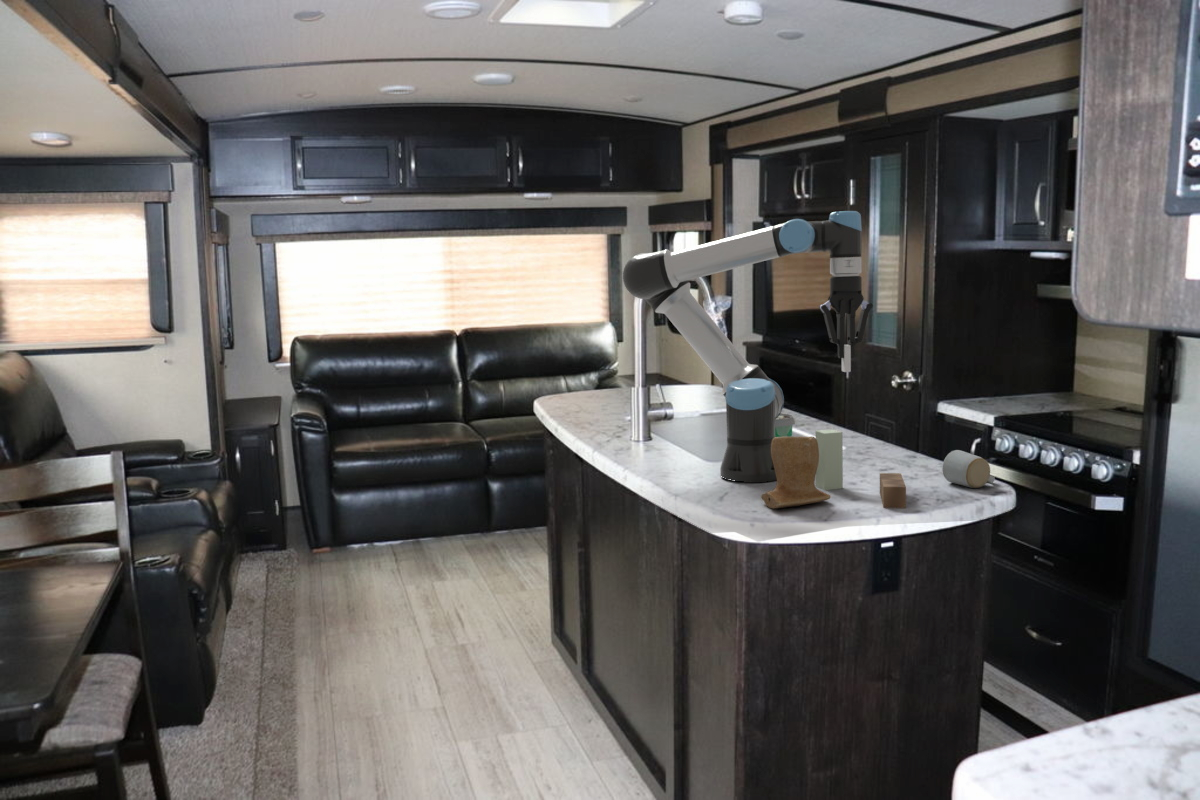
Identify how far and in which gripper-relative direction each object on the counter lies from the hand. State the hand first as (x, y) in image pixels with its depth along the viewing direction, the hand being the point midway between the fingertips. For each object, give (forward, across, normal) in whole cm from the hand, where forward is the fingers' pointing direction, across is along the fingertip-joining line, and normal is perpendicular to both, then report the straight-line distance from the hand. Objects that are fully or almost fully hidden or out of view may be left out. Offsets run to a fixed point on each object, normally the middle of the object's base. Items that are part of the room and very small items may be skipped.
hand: (846, 371), depth 242 cm
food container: (+25, -10, +25) cm, 36 cm away
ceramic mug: (+25, +21, -24) cm, 40 cm away
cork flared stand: (+25, -22, -34) cm, 47 cm away
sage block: (+24, -10, -20) cm, 33 cm away
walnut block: (+22, +1, -28) cm, 36 cm away
